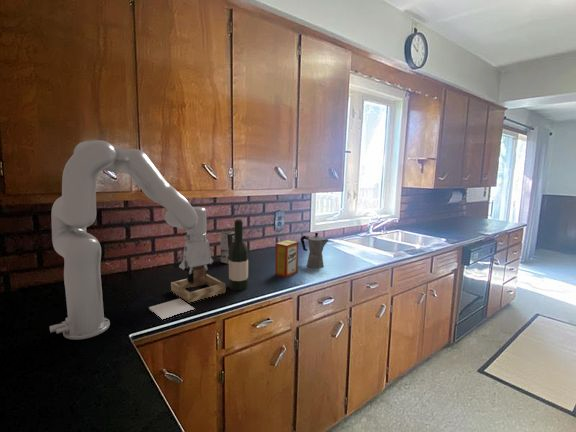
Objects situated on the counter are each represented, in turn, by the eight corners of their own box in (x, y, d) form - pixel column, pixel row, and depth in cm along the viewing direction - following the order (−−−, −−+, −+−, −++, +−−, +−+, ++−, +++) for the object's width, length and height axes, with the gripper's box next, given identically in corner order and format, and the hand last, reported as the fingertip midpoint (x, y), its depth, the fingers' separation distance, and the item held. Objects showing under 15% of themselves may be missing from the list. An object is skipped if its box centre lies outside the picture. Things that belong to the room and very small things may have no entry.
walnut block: (194, 287, 128) (194, 270, 127) (188, 283, 132) (188, 267, 131) (205, 284, 132) (205, 267, 131) (199, 280, 135) (199, 264, 134)
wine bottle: (229, 291, 135) (229, 221, 130) (228, 284, 143) (227, 217, 138) (249, 289, 137) (249, 220, 132) (246, 282, 145) (247, 217, 140)
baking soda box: (285, 277, 153) (286, 245, 150) (275, 274, 156) (275, 242, 154) (297, 272, 160) (298, 241, 157) (287, 269, 164) (287, 239, 161)
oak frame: (188, 303, 122) (188, 294, 121) (171, 291, 133) (170, 282, 132) (225, 292, 133) (225, 283, 132) (206, 282, 144) (206, 273, 143)
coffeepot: (329, 264, 173) (331, 232, 170) (324, 270, 165) (326, 235, 162) (302, 260, 179) (304, 229, 176) (296, 265, 171) (297, 232, 168)
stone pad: (162, 320, 109) (162, 319, 108) (148, 308, 117) (148, 307, 117) (194, 310, 117) (194, 308, 117) (180, 299, 125) (179, 298, 125)
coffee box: (229, 264, 170) (229, 234, 167) (220, 262, 173) (220, 233, 171) (240, 260, 178) (240, 231, 175) (231, 258, 181) (231, 230, 178)
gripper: (181, 242, 120) (181, 288, 123) (220, 236, 132) (219, 278, 135) (172, 238, 126) (172, 282, 128) (210, 233, 137) (210, 274, 140)
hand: (196, 280), depth 132 cm, fingers closed on walnut block, 5 cm apart
